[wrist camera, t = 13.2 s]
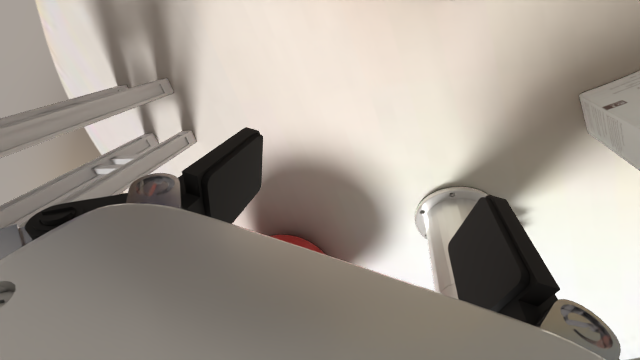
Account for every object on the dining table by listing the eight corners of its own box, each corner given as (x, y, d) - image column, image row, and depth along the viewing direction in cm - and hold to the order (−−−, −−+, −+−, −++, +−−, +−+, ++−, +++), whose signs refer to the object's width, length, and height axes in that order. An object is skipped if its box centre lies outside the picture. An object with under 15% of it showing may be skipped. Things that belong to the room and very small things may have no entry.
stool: (210, 151, 47) (-63, 361, 19) (148, 154, 51) (-147, 327, 23) (171, 62, 39) (-410, 201, 11) (101, 75, 43) (-438, 195, 15)
